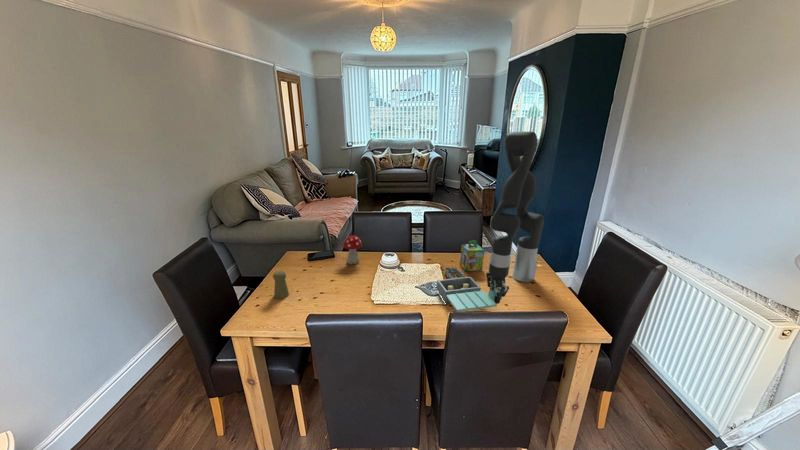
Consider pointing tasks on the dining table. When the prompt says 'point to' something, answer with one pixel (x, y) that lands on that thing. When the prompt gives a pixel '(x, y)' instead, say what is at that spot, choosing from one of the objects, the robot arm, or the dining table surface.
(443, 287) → the tub
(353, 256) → the decorative mushroom
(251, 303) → the dining table surface
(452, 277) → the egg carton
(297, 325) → the dining table surface
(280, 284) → the olive pawn figure
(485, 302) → the lid
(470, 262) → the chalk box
